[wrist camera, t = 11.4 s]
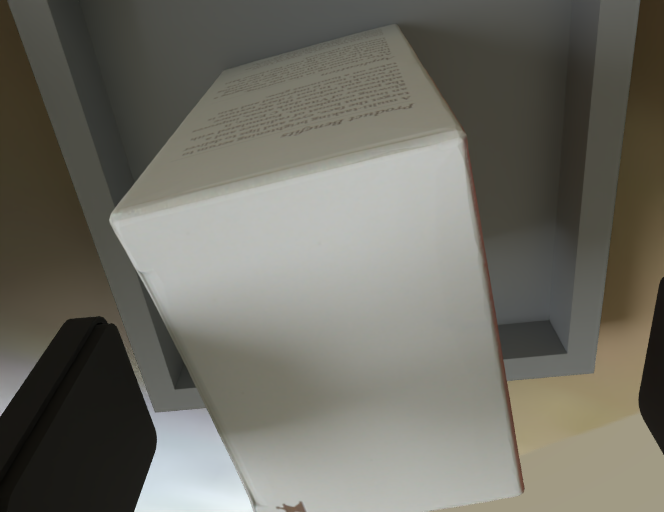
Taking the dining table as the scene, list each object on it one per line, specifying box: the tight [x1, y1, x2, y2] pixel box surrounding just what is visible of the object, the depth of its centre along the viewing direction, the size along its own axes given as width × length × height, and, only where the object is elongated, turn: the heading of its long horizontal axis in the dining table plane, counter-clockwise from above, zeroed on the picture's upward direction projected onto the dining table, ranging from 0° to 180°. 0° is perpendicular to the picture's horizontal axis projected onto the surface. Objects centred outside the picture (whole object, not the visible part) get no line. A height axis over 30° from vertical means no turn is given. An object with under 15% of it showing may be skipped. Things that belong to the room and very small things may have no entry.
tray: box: [7, 0, 640, 412], centre depth 19 cm, size 16×16×3 cm
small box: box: [109, 24, 524, 512], centre depth 15 cm, size 8×6×10 cm
